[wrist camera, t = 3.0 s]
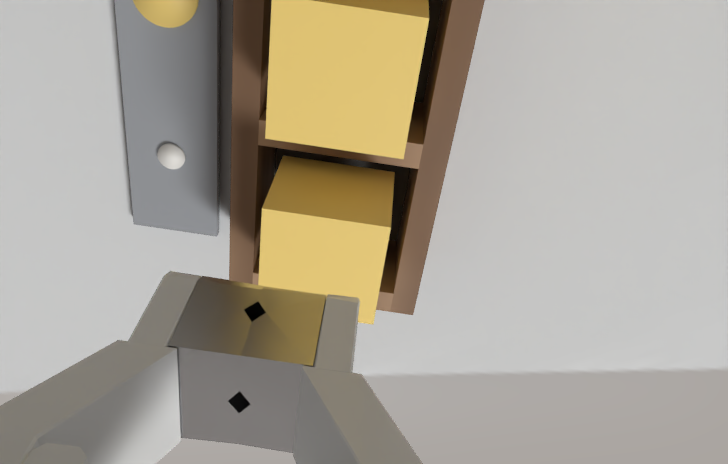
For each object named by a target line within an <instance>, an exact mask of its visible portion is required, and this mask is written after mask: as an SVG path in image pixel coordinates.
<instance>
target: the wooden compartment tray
mask: <svg viewBox="0 0 728 464" xmlns="http://www.w3.org/2000/svg"><path fill="white" fill-rule="evenodd" d="M484 1H485V0H443V1H442V6H441V11H440V17H439V22H438V27H437V32H436V37H435V43H434V48H433V53H432V58H431V63H430V69H429V74H428V79H427V84H426V89H425V95H424V100H423V103H420V102H414V105H413V110H412V116H411V121H410V126H409V132H408V137H407V143H406V148H405V154H404V159H398V158H391V157H385V156H378V155H371V154H365V153H358V152H351V151H345V150H338V149H331V148H325V147H318V146H311V145H305V144H298V143H291V142H285V141H278V140H271V139H265V132H266V110H267V89H268V68H269V46H270V25H271V4H272V0H233V55H232V125H231V195H230V266H229V280H230V281H237V282H243V283H249V284H255V285H258V281H259V260H260V238H261V217H262V207H263V204H264V202H265V199H266V197H267V194H268V192H269V189H270V187H271V184H272V182H273V179H274V168H275V151H276V148H281V149H288V150H295V151H301V152H308V153H315V154H321V155H328V156H335V157H341V158H348V159H355V160H361V161H368V162H375V163H381V164H388V165H395V166H401V167H408V168H410V173H409V178H408V183H407V188H406V194H405V199H404V204H403V209H402V214H401V220H400V225H399V230H398V235H397V241H394V240H389V241H388V246H387V252H386V257H385V263H384V268H383V274H382V279H381V284H380V290H379V295H378V301H377V306H376V310H382V311H389V312H396V313H403V314H409V315H413V313H414V308H415V304H416V299H417V295H418V291H419V286H420V282H421V277H422V273H423V269H424V264H425V260H426V255H427V251H428V247H429V242H430V238H431V233H432V229H433V225H434V220H435V216H436V211H437V207H438V203H439V198H440V194H441V189H442V185H443V181H444V176H445V172H446V168H447V163H448V159H449V154H450V150H451V146H452V141H453V137H454V132H455V128H456V124H457V119H458V115H459V110H460V106H461V102H462V97H463V93H464V88H465V84H466V80H467V75H468V71H469V66H470V62H471V58H472V53H473V49H474V45H475V40H476V36H477V31H478V27H479V23H480V18H481V14H482V9H483V5H484Z"/></svg>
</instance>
